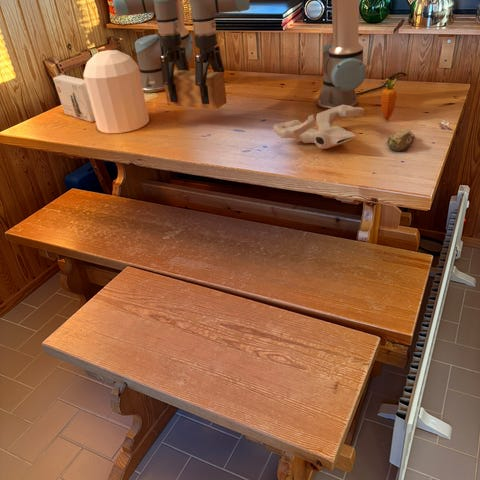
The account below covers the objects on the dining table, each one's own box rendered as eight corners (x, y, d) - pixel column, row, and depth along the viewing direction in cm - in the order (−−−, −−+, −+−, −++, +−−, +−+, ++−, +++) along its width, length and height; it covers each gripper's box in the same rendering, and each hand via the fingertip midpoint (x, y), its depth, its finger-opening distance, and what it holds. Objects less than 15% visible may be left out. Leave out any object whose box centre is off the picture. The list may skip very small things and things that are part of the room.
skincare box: (63, 114, 202) (52, 77, 193) (74, 110, 205) (63, 74, 196) (91, 122, 190) (80, 83, 181) (101, 118, 193) (91, 80, 184)
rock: (408, 140, 153) (379, 139, 152) (414, 122, 149) (384, 120, 148) (421, 154, 144) (391, 153, 143) (428, 135, 140) (396, 133, 139)
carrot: (394, 118, 167) (398, 76, 158) (393, 123, 163) (397, 80, 154) (379, 117, 168) (383, 75, 160) (378, 122, 165) (382, 80, 156)
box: (167, 105, 175) (162, 75, 169) (178, 99, 180) (173, 69, 174) (217, 109, 167) (213, 78, 160) (226, 102, 172) (223, 72, 166)
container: (103, 137, 175) (82, 61, 159) (92, 121, 191) (73, 50, 175) (155, 125, 181) (141, 50, 166) (141, 110, 198) (127, 41, 182)
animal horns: (271, 156, 148) (270, 121, 142) (282, 128, 169) (280, 95, 163) (362, 157, 142) (365, 119, 136) (361, 127, 163) (363, 93, 157)
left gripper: (162, 40, 154) (173, 108, 167) (193, 27, 168) (201, 90, 181) (144, 40, 157) (156, 106, 170) (176, 27, 171) (185, 89, 184)
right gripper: (198, 41, 147) (206, 110, 160) (230, 26, 163) (235, 89, 176) (178, 41, 150) (188, 108, 163) (211, 26, 166) (218, 88, 179)
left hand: (179, 98), depth 175 cm, fingers closed on box, 7 cm apart
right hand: (212, 98), depth 169 cm, fingers open, 10 cm apart
